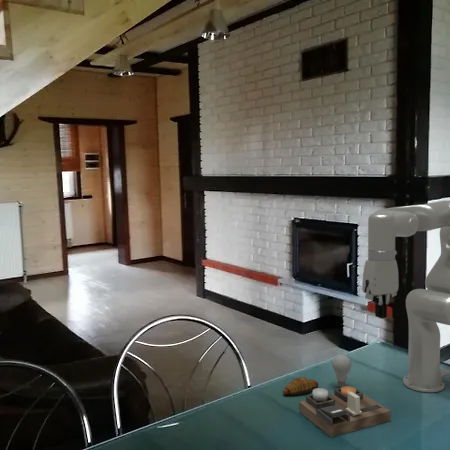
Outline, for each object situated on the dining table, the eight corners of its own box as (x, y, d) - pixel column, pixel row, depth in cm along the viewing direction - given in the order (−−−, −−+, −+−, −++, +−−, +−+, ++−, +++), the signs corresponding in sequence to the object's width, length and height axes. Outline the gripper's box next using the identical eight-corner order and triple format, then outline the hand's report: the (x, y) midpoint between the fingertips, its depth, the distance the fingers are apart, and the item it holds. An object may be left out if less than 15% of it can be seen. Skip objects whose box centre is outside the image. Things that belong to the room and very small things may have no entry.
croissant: (290, 401, 156) (290, 385, 155) (277, 393, 161) (277, 378, 161) (324, 391, 162) (324, 376, 162) (311, 383, 168) (311, 369, 167)
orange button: (349, 390, 153) (349, 385, 153) (359, 396, 149) (359, 390, 149) (337, 393, 152) (337, 387, 152) (346, 399, 148) (346, 393, 147)
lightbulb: (351, 392, 160) (351, 358, 159) (332, 391, 161) (332, 358, 160) (350, 384, 166) (350, 352, 165) (332, 383, 167) (331, 351, 166)
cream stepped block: (353, 408, 143) (353, 391, 142) (361, 413, 139) (361, 396, 139) (345, 410, 141) (345, 393, 141) (353, 415, 138) (353, 398, 138)
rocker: (333, 408, 141) (332, 405, 141) (346, 414, 136) (345, 410, 136) (319, 412, 139) (319, 408, 139) (332, 418, 134) (332, 413, 134)
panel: (354, 398, 156) (354, 383, 156) (390, 420, 141) (390, 404, 141) (298, 411, 148) (298, 396, 148) (330, 437, 134) (330, 420, 133)
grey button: (322, 392, 149) (322, 387, 149) (331, 398, 145) (331, 392, 145) (309, 395, 148) (309, 390, 147) (318, 401, 144) (318, 395, 143)
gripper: (392, 251, 153) (392, 310, 155) (352, 256, 147) (352, 317, 149) (410, 255, 146) (409, 316, 148) (369, 259, 140) (368, 324, 142)
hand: (380, 316), depth 148 cm, fingers closed
